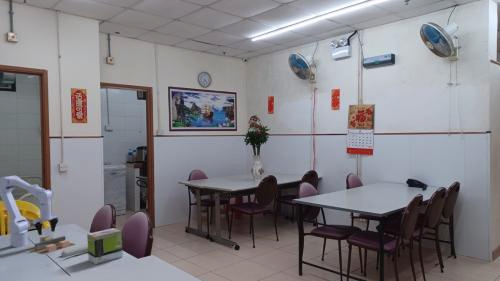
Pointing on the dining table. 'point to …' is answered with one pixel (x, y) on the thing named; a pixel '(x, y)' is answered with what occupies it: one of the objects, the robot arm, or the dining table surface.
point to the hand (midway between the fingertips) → (46, 233)
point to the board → (46, 251)
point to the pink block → (50, 248)
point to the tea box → (104, 245)
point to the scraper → (48, 242)
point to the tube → (75, 251)
